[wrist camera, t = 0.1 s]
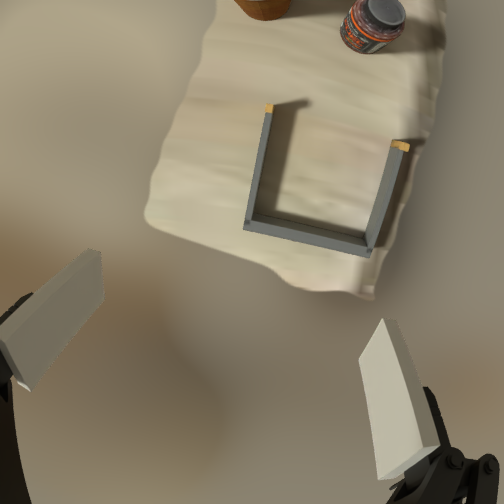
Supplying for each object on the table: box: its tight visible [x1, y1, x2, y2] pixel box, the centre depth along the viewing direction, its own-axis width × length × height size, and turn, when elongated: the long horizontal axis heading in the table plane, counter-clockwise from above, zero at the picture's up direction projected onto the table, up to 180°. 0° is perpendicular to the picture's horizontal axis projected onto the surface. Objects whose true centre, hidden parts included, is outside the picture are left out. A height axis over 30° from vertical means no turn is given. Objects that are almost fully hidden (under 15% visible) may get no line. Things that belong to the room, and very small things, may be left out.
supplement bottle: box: [340, 0, 406, 54], centre depth 22 cm, size 6×6×11 cm
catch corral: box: [243, 103, 410, 258], centre depth 34 cm, size 16×18×4 cm
